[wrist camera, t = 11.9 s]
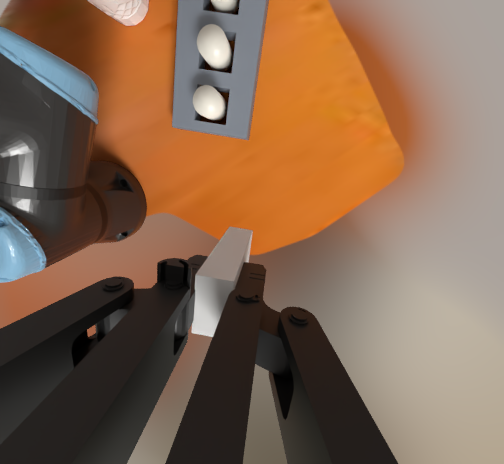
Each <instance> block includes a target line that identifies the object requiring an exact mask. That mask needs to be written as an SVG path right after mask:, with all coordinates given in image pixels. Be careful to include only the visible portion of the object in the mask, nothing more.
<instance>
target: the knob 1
mask: <svg viewBox="0 0 504 464" xmlns="http://www.w3.org/2000/svg"><path fill="white" fill-rule="evenodd" d="M193 105H194V108H195V110H196V111H197V112H198V113H199V114H200V115H202V116H204V117H206V118H208V119H210V120H212V121H220V120H222V119H223V118H224V117H225V115H226V113H227V109H228V106H227V102H226V100H225V99H224V97H223V96H222V95H221V94H220V93H219V92H218V91H217V90H216V89H215V88H214V87H212V86H209V85H203V86H200V87H199V88H198V89H197V90H196V91H195V93H194V95H193Z"/></svg>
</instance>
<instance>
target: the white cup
mask: <svg viewBox="0 0 504 464" xmlns="http://www.w3.org/2000/svg"><path fill="white" fill-rule="evenodd" d="M87 1H88V2H90V3H91V4H93V5H94V6H96V7H97V8H98V9H100V10H101V11H103V12H104V13H106V14H107V15H109V16H111V17H112V18H113V19H115V20H116V21H118V22H120V23H122V24H124V25H126V26H132V25H137V24H138V23H139V22H141V21H142V20H143V19H144V17H145V15H146V13H147V11H148V5H149V0H87Z"/></svg>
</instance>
